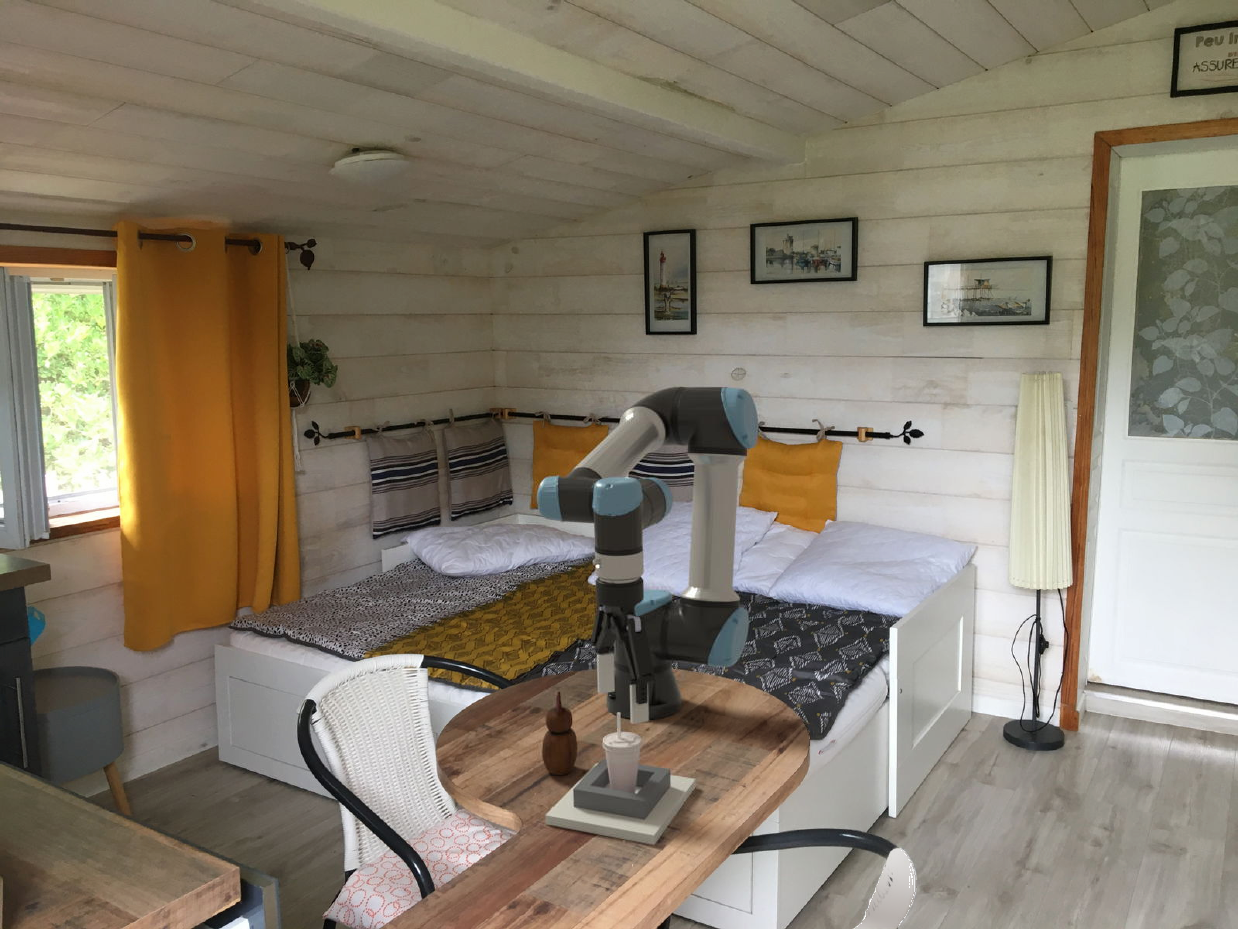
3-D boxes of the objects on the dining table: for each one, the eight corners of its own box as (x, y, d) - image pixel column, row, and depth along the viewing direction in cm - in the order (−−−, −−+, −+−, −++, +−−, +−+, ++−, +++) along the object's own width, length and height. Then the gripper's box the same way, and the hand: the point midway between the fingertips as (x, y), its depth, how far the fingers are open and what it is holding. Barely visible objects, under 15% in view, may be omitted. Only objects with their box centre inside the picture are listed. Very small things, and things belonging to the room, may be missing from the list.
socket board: (596, 771, 178) (596, 746, 177) (695, 787, 171) (695, 762, 170) (545, 824, 159) (544, 797, 159) (654, 845, 153) (653, 816, 152)
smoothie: (613, 785, 169) (611, 703, 167) (649, 791, 167) (648, 709, 165) (597, 801, 163) (595, 718, 161) (634, 808, 161) (632, 723, 159)
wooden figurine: (571, 780, 174) (569, 696, 172) (539, 778, 175) (536, 694, 173) (581, 763, 181) (579, 682, 179) (549, 761, 182) (547, 680, 180)
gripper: (569, 562, 170) (573, 684, 173) (629, 600, 147) (632, 740, 150) (611, 556, 172) (614, 677, 176) (676, 594, 150) (678, 731, 153)
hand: (622, 706), depth 163 cm, fingers open, 13 cm apart
